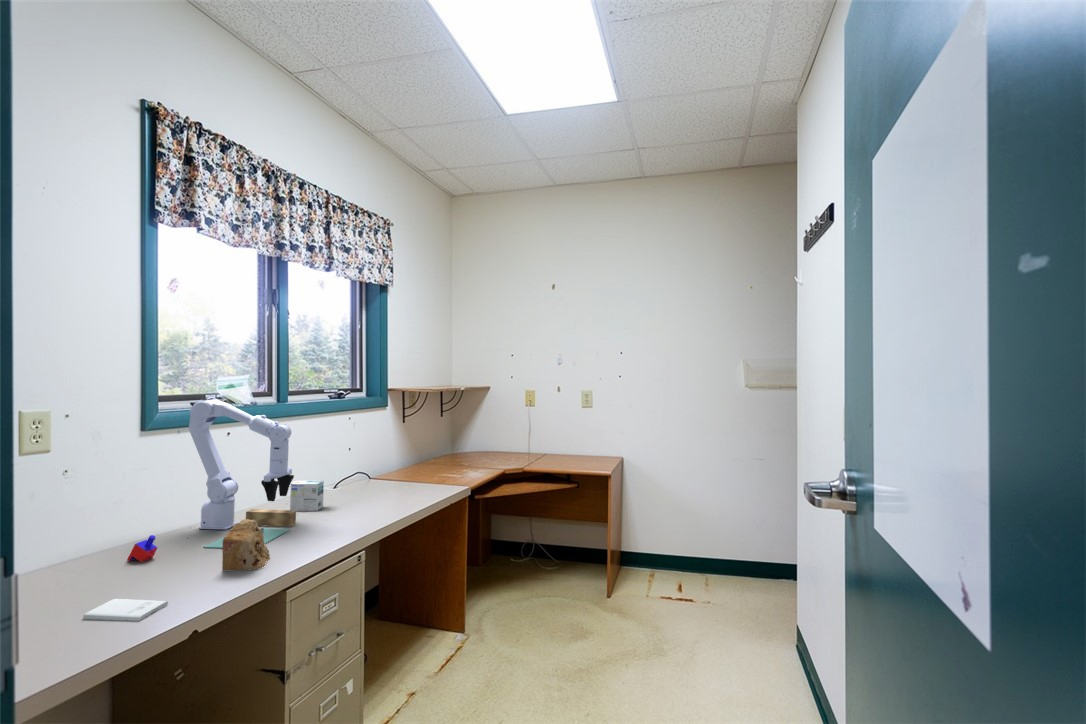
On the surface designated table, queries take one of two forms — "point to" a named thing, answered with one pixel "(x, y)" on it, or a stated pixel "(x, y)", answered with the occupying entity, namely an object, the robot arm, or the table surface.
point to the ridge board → (266, 537)
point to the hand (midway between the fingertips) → (277, 498)
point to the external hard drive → (125, 609)
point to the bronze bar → (272, 517)
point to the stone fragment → (244, 547)
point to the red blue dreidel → (143, 550)
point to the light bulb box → (306, 495)
